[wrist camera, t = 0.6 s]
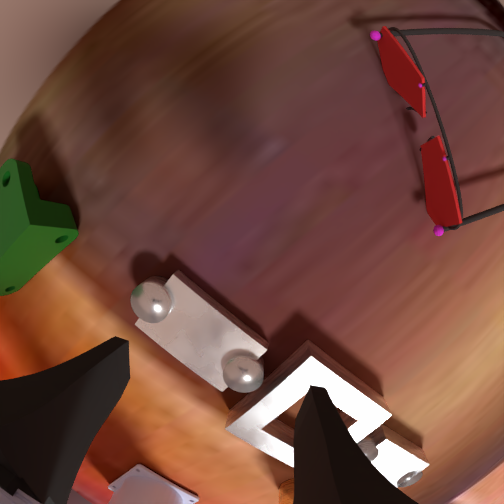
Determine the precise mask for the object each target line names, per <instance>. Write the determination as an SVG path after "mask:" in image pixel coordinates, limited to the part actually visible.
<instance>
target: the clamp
mask: <svg viewBox="0 0 504 504" xmlns="http://www.w3.org/2000/svg"><path fill="white" fill-rule="evenodd" d="M78 234H79V233H78V230H77V227H76V224H75V221H74V218H73V215H72V212H71V209H70V207H69V206H68V205H66V204H61V203H55V202H50V201H45V200H40V197H39V193H38V189H37V187H36V185H35V184H34V180H33V176H32V171H31V167H30V165H29V164H28V163H25V162H22V161H19V160H15V159H8V160H7V161H6V162H5V163H4V164H3V166H2V167H1V168H0V296H4V295H9V294H12V293H14V292H16V291H18V290H19V289H21V288H22V287H23V286H24V285H25V284H26V283H27V282H28V281H29V280H30V279H31V278H32V277H33V276H34V275H35V274H36V273H37V272H38V271H40V270H41V269H42V268H43V267H44V266H45V265H46V264H47V263H48V262H49V261H51V260H52V259H53V258H54V257H55V256H56V255H57V254H58V253H60V252H61V251H62V250H63V249H64V248H65V247H66V246H68V245H69V244H70V243H71V242H72V241H73V240H75V239H76V238H77V236H78Z"/></svg>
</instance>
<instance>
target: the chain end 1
mask: <svg viewBox="0 0 504 504" xmlns="http://www.w3.org/2000/svg"><path fill="white" fill-rule="evenodd" d="M131 306H132V309H133V311H134V312H135V314H136V315H137V316H138V317H139V319H138V321H137V322H136V324H135V325H136V326H137V327H138V328H140V329H141V330H142V331H143V332H144V333H146V334H147V335H148V336H149V337H150V338H152V339H153V340H154V341H155V342H157V343H158V344H159V345H160V346H161V347H163V348H164V349H165V350H166V351H168V352H169V353H170V354H172V355H173V356H174V357H175V358H177V359H178V360H179V361H181V362H182V363H183V364H184V365H186V366H187V367H188V368H190V369H191V370H192V371H194V372H195V373H196V374H198V375H199V376H201V377H202V378H203V379H205V380H206V381H207V382H209V383H210V384H212V385H213V386H214V387H216V388H217V389H219V390H220V391H222V392H223V391H224V390H225V389H226V388H227V387H229V388H231V389H232V390H234V391H237V392H242V393H247V392H250V393H249V394H247V395H246V396H245V397H244V398H243V399H242V400H240V401H239V402H238V403H237V404H236V405H234V406H233V407H232V408H231V409H230V410H229V412H228V417H227V419H228V418H229V417H230V416H232V415H233V414H234V413H235V412H237V411H238V410H239V409H240V408H242V407H243V406H244V405H245V404H246V403H248V402H249V401H250V400H251V399H252V398H253V397H255V396H256V395H257V394H258V393H259V392H261V391H262V390H263V389H264V388H265V387H266V386H267V385H269V384H270V383H271V382H272V381H273V380H274V379H275V378H277V377H278V376H279V375H280V374H281V373H282V372H283V371H284V370H285V369H287V368H288V367H289V366H290V365H291V364H292V363H293V362H294V361H295V360H296V359H297V358H298V357H300V356H301V355H302V354H303V353H304V352H305V351H306V350H307V349H308V348H309V347H310V348H311V349H312V350H314V351H315V352H316V353H318V354H319V355H320V356H322V357H323V358H324V359H325V360H327V361H328V362H329V363H331V364H332V365H333V366H335V367H336V368H337V369H339V370H340V371H341V372H343V373H344V374H345V375H347V376H348V377H349V378H351V379H352V380H353V381H355V382H356V383H357V384H359V385H360V386H361V387H363V388H364V389H365V390H367V391H368V392H369V393H371V394H372V395H373V396H375V397H376V398H377V399H379V400H380V401H382V402H383V403H384V404H386V405H387V403H386V401H385V399H384V397H383V396H381V395H380V394H379V393H377V392H376V391H375V390H373V389H372V388H371V387H369V386H368V385H367V384H365V383H364V382H363V381H361V380H360V379H359V378H357V377H356V376H355V375H353V374H352V373H351V372H350V371H348V370H347V369H346V368H344V367H343V366H342V365H340V364H339V363H338V362H337V361H335V360H334V359H333V358H331V357H330V356H329V355H328V354H326V353H325V352H324V351H322V350H321V349H320V348H319V347H317V346H316V345H315V344H313V343H312V342H311V341H310V340H308V339H307V340H306V341H305V342H304V343H303V344H302V345H301V346H300V347H299V348H298V349H297V350H296V351H295V352H294V353H293V354H292V355H291V356H290V357H289V358H288V359H286V360H285V361H284V362H283V363H282V364H281V365H280V366H279V367H278V368H277V369H276V370H274V371H273V372H272V373H271V374H270V375H269V376H268V377H267V378H266V379H264V380H263V377H264V359H263V357H262V355H263V354H264V353H265V352H266V351H267V348H268V341H266V340H265V339H264V338H262V337H261V336H260V335H258V334H257V333H256V332H255V331H253V330H252V329H251V328H249V327H248V326H247V325H246V324H244V323H243V322H242V321H241V320H239V319H238V318H237V317H236V316H234V315H233V314H232V313H231V312H229V311H228V310H227V309H226V308H224V307H223V306H222V305H221V304H219V303H218V302H217V301H216V300H214V299H213V298H212V297H211V296H210V295H208V294H207V293H206V292H205V291H203V290H202V289H201V288H200V287H199V286H197V285H196V284H195V283H194V282H193V281H191V280H190V279H189V278H188V277H187V276H186V275H184V274H183V273H182V272H181V271H180V270H177V271H176V272H175V273H174V274H173V275H172V276H171V277H170V279H169V280H167V279H166V278H164V277H161V276H152V277H149V278H148V279H146V280H145V281H143V282H142V283H141V284H140V285H138V286H137V287H136V288H135V289H134V290H133V292H132V294H131ZM387 406H388V405H387ZM339 414H340V416H341V418H342V420H343V421H344V420H345V419H347V418H348V417H349V416H350V415H349V414H348V413H346V412H344V411H342V412H340V413H339ZM269 424H270V425H272V426H274V427H275V428H277V429H279V430H280V431H282V432H284V433H285V434H287V435H289V436H290V437H292V438H294V429H292V428H291V427H289V426H287V425H286V424H284V423H283V422H281V421H279V420H278V419H276V418H275V419H273V420H272V421H271V422H269Z"/></svg>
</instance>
